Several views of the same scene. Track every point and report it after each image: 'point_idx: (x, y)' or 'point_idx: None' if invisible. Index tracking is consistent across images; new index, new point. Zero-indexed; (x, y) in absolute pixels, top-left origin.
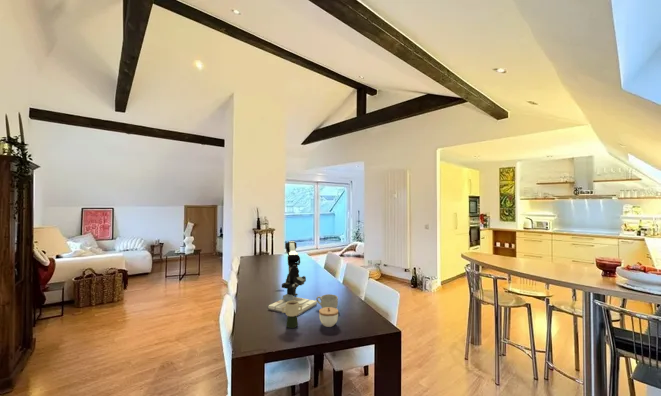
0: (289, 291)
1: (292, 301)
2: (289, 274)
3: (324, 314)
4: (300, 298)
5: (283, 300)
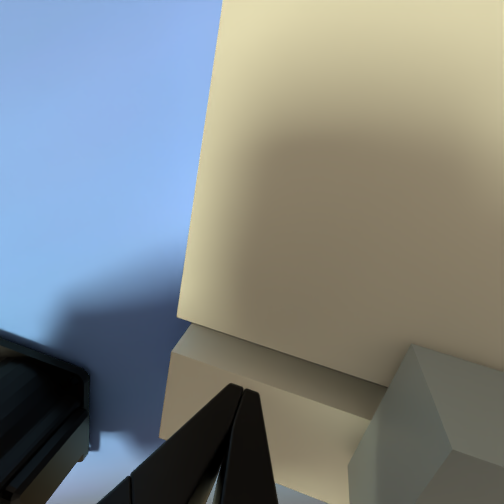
0: (37, 480)
1: None
2: None
3: None
4: (238, 195)
5: None
